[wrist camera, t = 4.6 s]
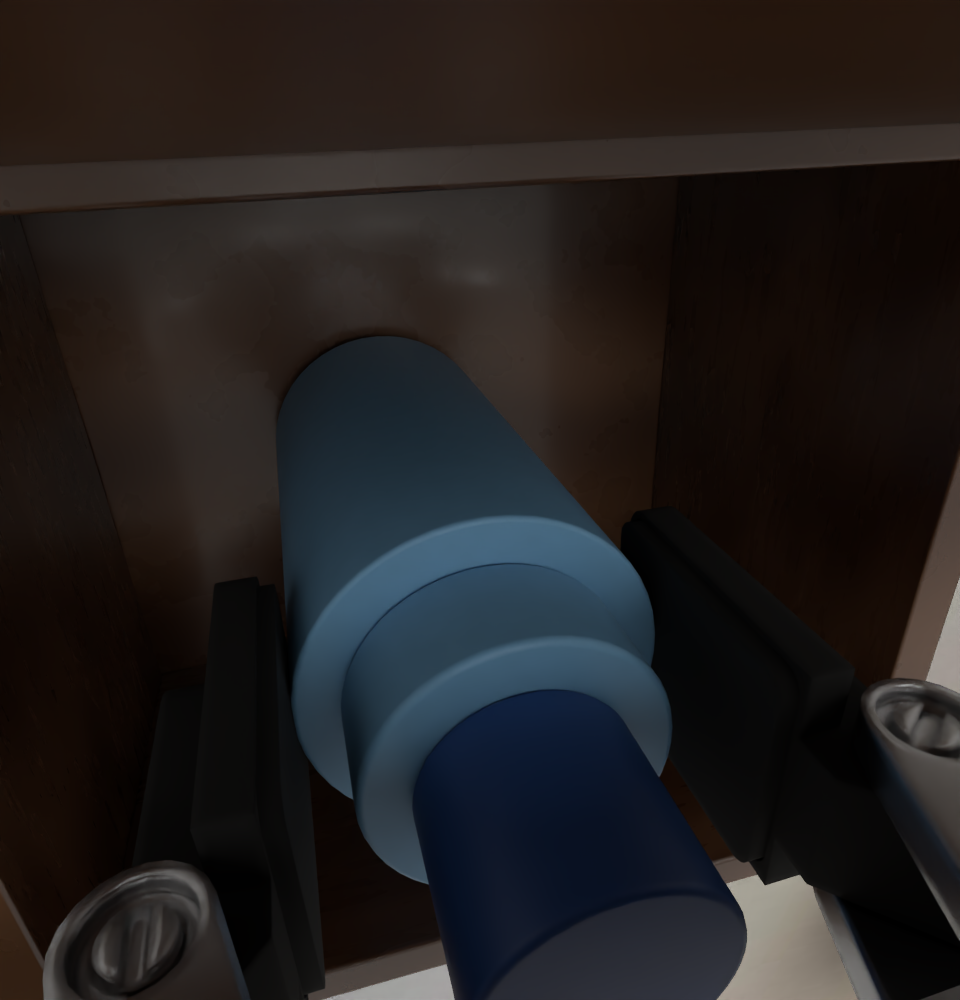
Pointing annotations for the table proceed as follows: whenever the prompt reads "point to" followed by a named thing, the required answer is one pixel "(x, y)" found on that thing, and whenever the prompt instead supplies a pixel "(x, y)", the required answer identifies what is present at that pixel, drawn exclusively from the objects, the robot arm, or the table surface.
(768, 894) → the table surface
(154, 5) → the wooden box lid
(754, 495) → the brown wooden box
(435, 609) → the bottle
